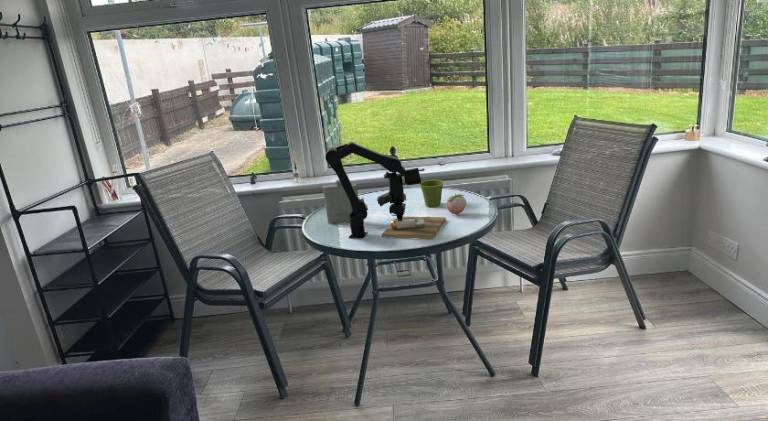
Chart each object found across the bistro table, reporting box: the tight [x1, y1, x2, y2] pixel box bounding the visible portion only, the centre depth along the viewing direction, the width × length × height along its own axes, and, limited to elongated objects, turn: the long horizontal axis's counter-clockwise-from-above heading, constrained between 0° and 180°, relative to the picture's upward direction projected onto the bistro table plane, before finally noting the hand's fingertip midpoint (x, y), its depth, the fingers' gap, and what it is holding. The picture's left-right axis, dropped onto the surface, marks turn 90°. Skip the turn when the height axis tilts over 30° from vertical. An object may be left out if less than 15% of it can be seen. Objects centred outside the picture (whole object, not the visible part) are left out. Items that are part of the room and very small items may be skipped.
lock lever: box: [390, 218, 424, 229], centre depth 214 cm, size 14×4×3 cm, turn 83°
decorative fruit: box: [445, 193, 467, 216], centre depth 227 cm, size 9×8×10 cm
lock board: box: [381, 216, 447, 240], centre depth 217 cm, size 22×22×2 cm
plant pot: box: [418, 179, 445, 208], centre depth 244 cm, size 12×12×11 cm
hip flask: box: [322, 179, 359, 225], centre depth 233 cm, size 16×4×20 cm, turn 80°
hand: (399, 221), depth 216 cm, fingers closed
